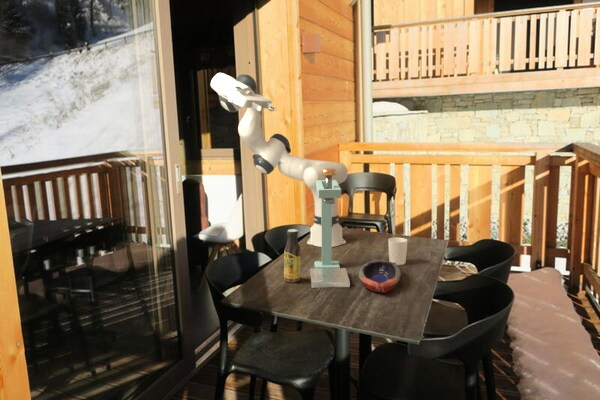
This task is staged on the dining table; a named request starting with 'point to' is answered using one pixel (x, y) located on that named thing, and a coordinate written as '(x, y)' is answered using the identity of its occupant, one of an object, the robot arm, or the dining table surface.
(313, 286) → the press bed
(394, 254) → the white cup
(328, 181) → the ram
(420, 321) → the dining table surface
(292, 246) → the sauce bottle
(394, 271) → the dish
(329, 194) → the press frame
